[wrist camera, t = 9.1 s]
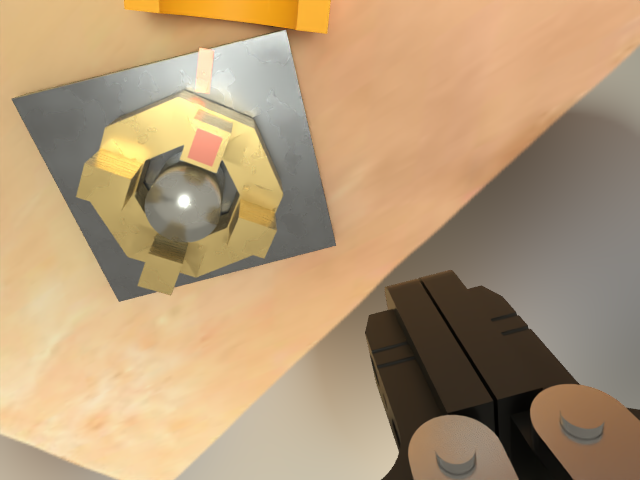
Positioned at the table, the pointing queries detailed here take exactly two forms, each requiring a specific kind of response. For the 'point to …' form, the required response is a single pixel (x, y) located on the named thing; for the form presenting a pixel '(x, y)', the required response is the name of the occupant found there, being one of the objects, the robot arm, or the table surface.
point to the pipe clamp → (247, 11)
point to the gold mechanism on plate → (167, 169)
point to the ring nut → (199, 149)
